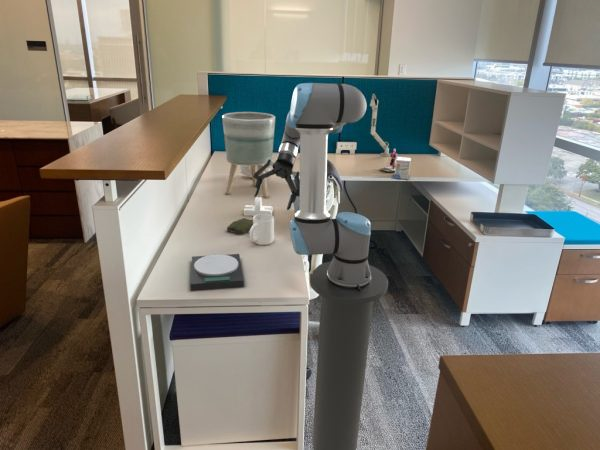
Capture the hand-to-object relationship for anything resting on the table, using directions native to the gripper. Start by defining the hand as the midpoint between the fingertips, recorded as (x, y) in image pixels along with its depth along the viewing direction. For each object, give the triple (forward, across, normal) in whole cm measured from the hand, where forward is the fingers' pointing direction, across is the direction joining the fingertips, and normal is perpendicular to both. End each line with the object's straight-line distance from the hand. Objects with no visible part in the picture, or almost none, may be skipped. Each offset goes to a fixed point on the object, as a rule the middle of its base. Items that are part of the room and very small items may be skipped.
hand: (272, 202), depth 170 cm
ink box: (-80, -84, -60) cm, 131 cm away
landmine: (+4, +2, -26) cm, 27 cm away
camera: (-52, -1, -82) cm, 97 cm away
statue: (-89, -80, -71) cm, 139 cm away
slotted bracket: (-11, -2, -39) cm, 41 cm away
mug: (+12, -3, -15) cm, 19 cm away
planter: (-32, +2, -63) cm, 71 cm away
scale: (+34, +11, -1) cm, 35 cm away
